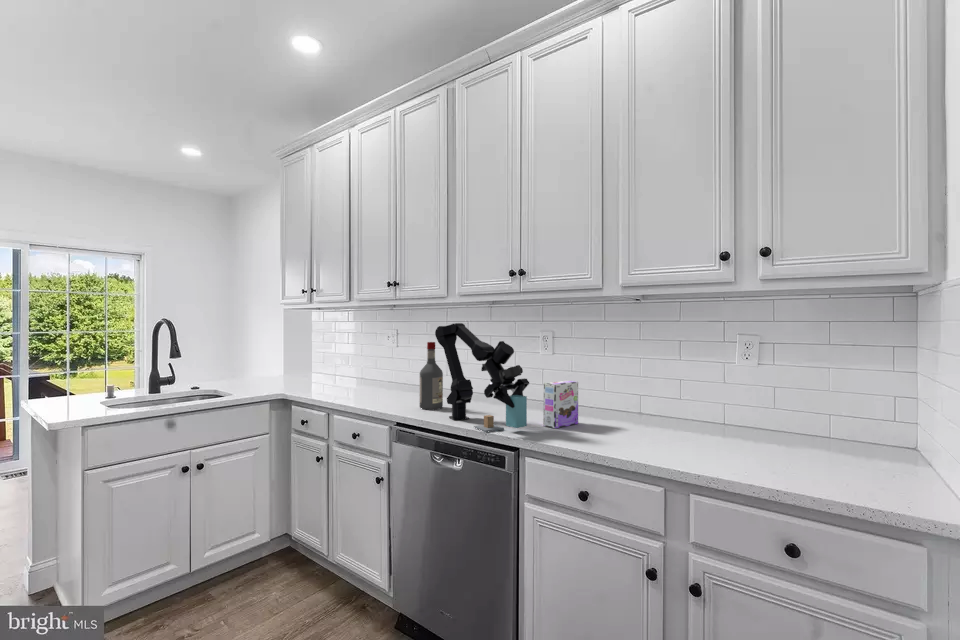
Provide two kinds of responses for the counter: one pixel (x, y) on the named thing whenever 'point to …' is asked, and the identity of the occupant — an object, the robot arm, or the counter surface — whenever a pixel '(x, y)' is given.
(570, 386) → the candy box
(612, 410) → the counter surface
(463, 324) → the robot arm
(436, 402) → the liquor
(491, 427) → the post stand
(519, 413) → the teal rectangular block
